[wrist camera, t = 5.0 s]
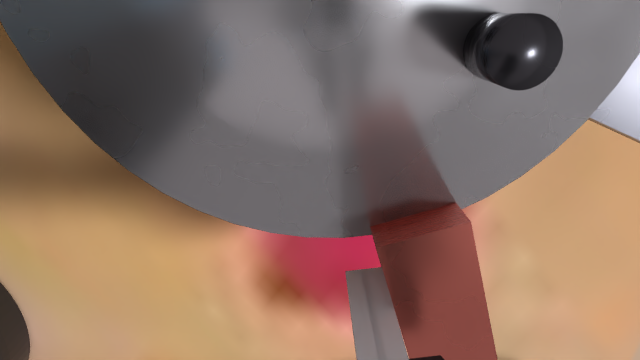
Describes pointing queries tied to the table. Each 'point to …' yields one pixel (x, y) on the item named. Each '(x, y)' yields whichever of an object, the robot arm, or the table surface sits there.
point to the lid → (338, 117)
